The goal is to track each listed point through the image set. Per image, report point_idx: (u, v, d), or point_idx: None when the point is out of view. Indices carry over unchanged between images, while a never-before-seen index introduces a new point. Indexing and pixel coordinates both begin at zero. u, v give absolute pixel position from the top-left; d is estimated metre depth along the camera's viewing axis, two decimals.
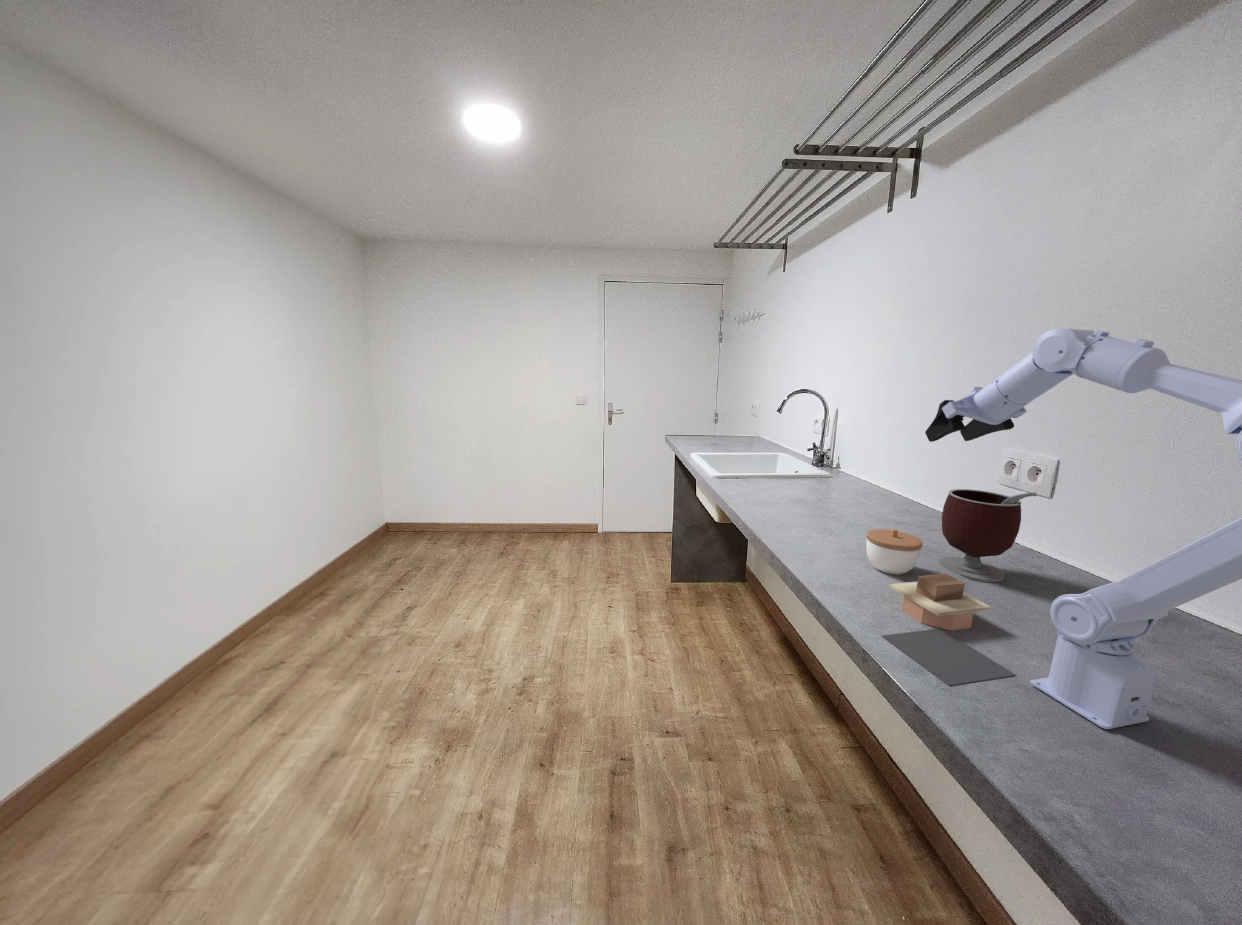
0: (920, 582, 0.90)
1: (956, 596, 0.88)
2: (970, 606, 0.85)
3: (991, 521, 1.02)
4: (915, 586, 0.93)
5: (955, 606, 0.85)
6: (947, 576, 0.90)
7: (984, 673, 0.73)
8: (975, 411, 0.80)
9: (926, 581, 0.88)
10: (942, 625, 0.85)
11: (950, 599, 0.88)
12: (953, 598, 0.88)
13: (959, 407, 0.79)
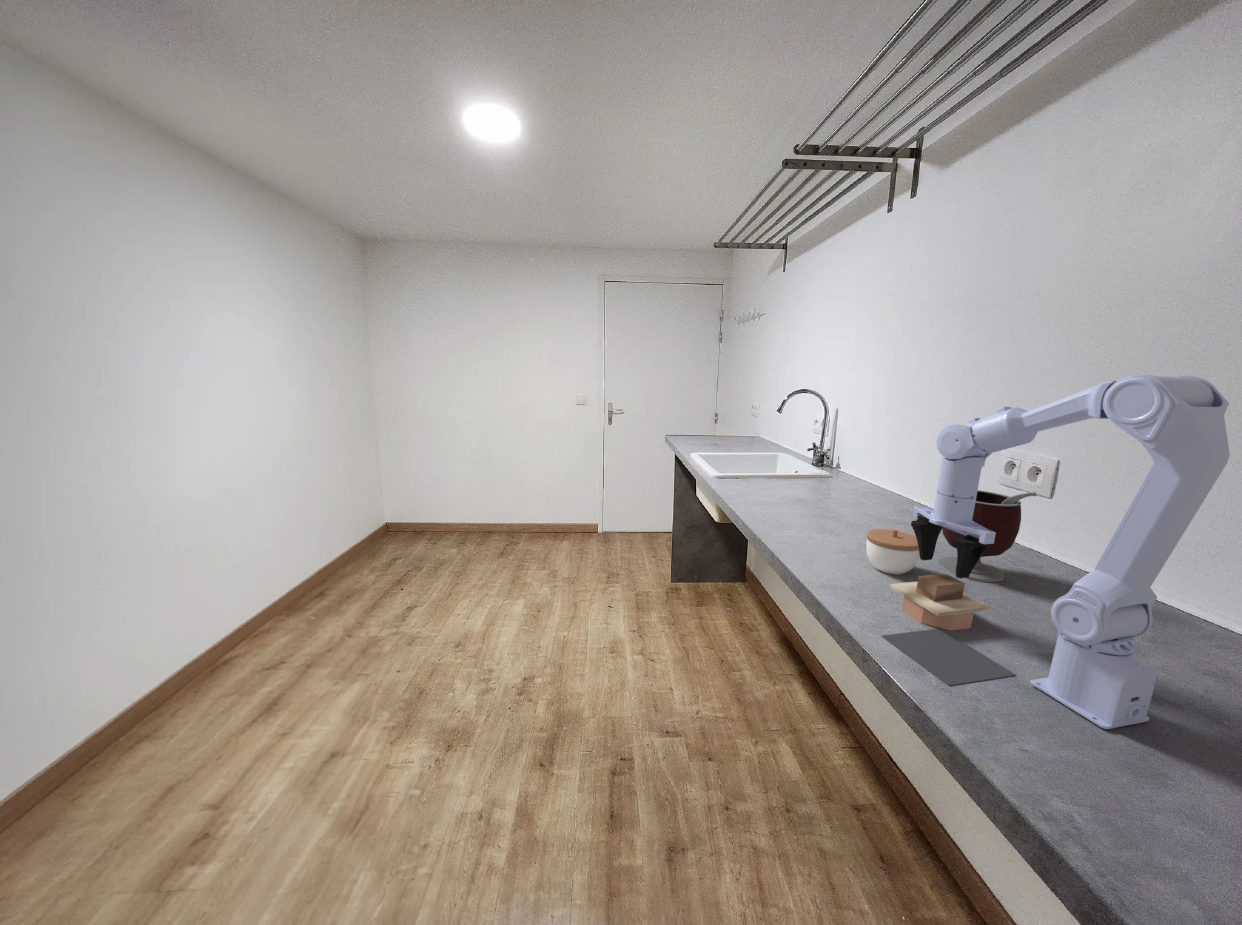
0: (920, 582, 0.90)
1: (956, 596, 0.88)
2: (970, 606, 0.85)
3: (991, 521, 1.02)
4: (915, 586, 0.93)
5: (955, 606, 0.85)
6: (947, 576, 0.90)
7: (984, 673, 0.73)
8: None
9: (926, 581, 0.88)
10: (942, 625, 0.85)
11: (950, 599, 0.88)
12: (953, 598, 0.88)
13: None
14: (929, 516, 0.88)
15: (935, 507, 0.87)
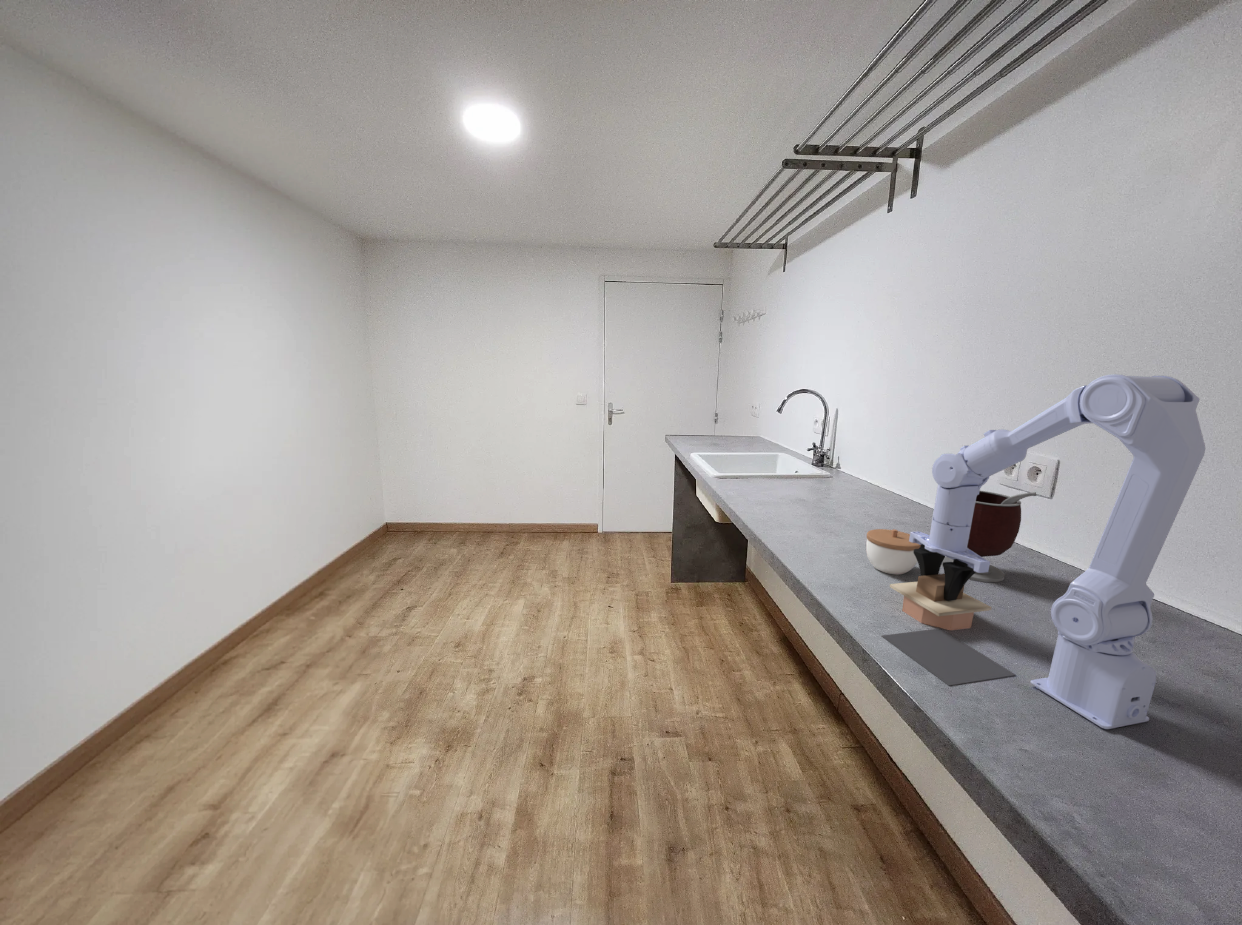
0: (920, 582, 0.90)
1: None
2: (970, 606, 0.85)
3: (991, 521, 1.02)
4: (915, 586, 0.93)
5: (955, 606, 0.85)
6: None
7: (984, 673, 0.73)
8: (965, 553, 0.85)
9: (926, 581, 0.88)
10: (942, 625, 0.85)
11: None
12: None
13: (978, 559, 0.82)
14: (925, 542, 0.89)
15: (931, 534, 0.88)
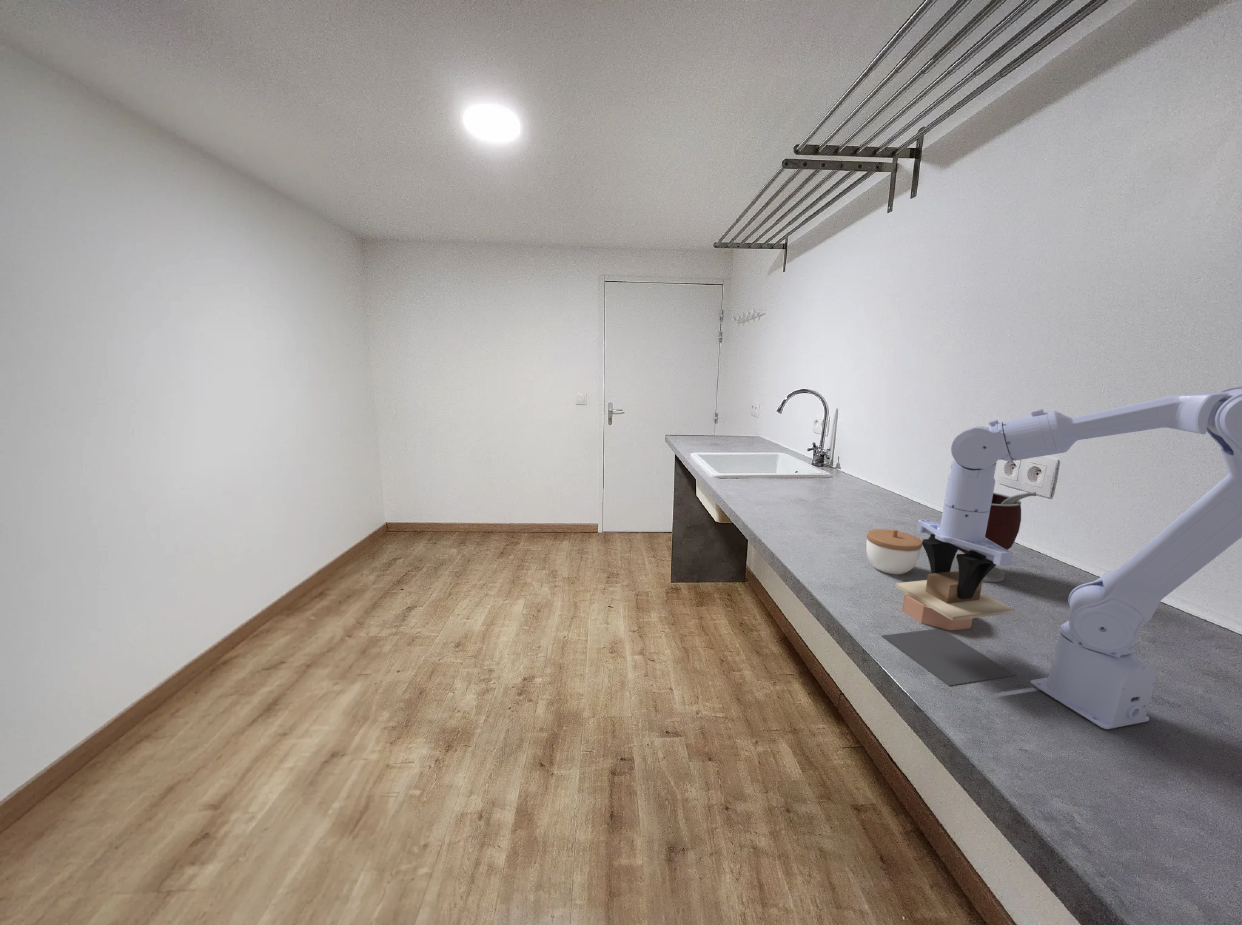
0: (930, 581, 0.77)
1: (972, 597, 0.76)
2: (989, 608, 0.73)
3: (991, 521, 1.02)
4: (924, 585, 0.81)
5: (971, 609, 0.73)
6: None
7: (984, 673, 0.73)
8: (983, 543, 0.73)
9: (937, 580, 0.76)
10: (942, 625, 0.85)
11: (965, 600, 0.75)
12: (969, 599, 0.76)
13: None
14: (935, 531, 0.77)
15: (942, 521, 0.76)
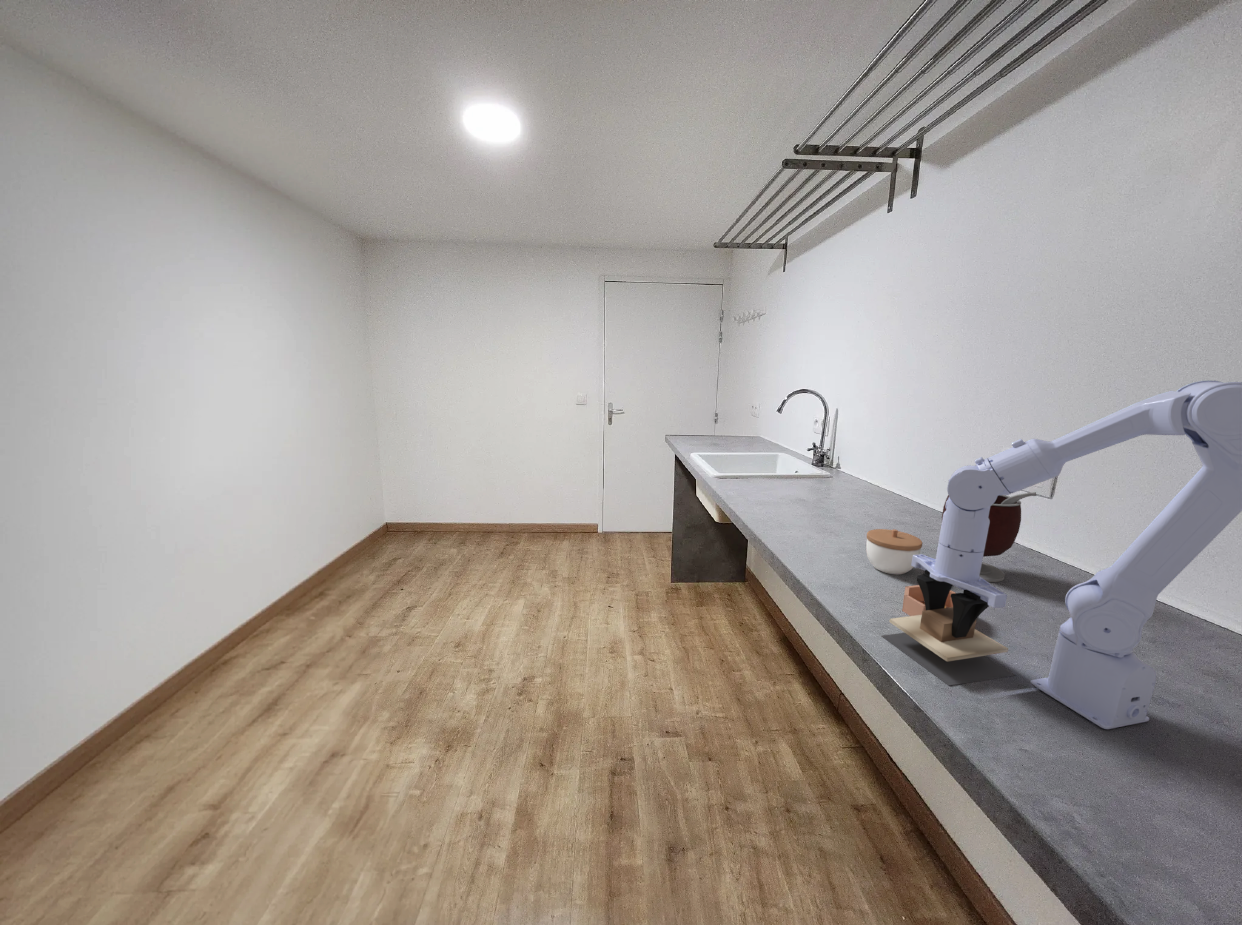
0: (924, 618, 0.77)
1: None
2: (983, 647, 0.73)
3: (991, 521, 1.02)
4: (919, 621, 0.81)
5: (966, 648, 0.73)
6: None
7: (984, 673, 0.73)
8: (977, 582, 0.73)
9: (931, 617, 0.76)
10: None
11: (960, 638, 0.75)
12: (963, 637, 0.76)
13: (993, 591, 0.70)
14: (930, 569, 0.77)
15: (937, 559, 0.75)
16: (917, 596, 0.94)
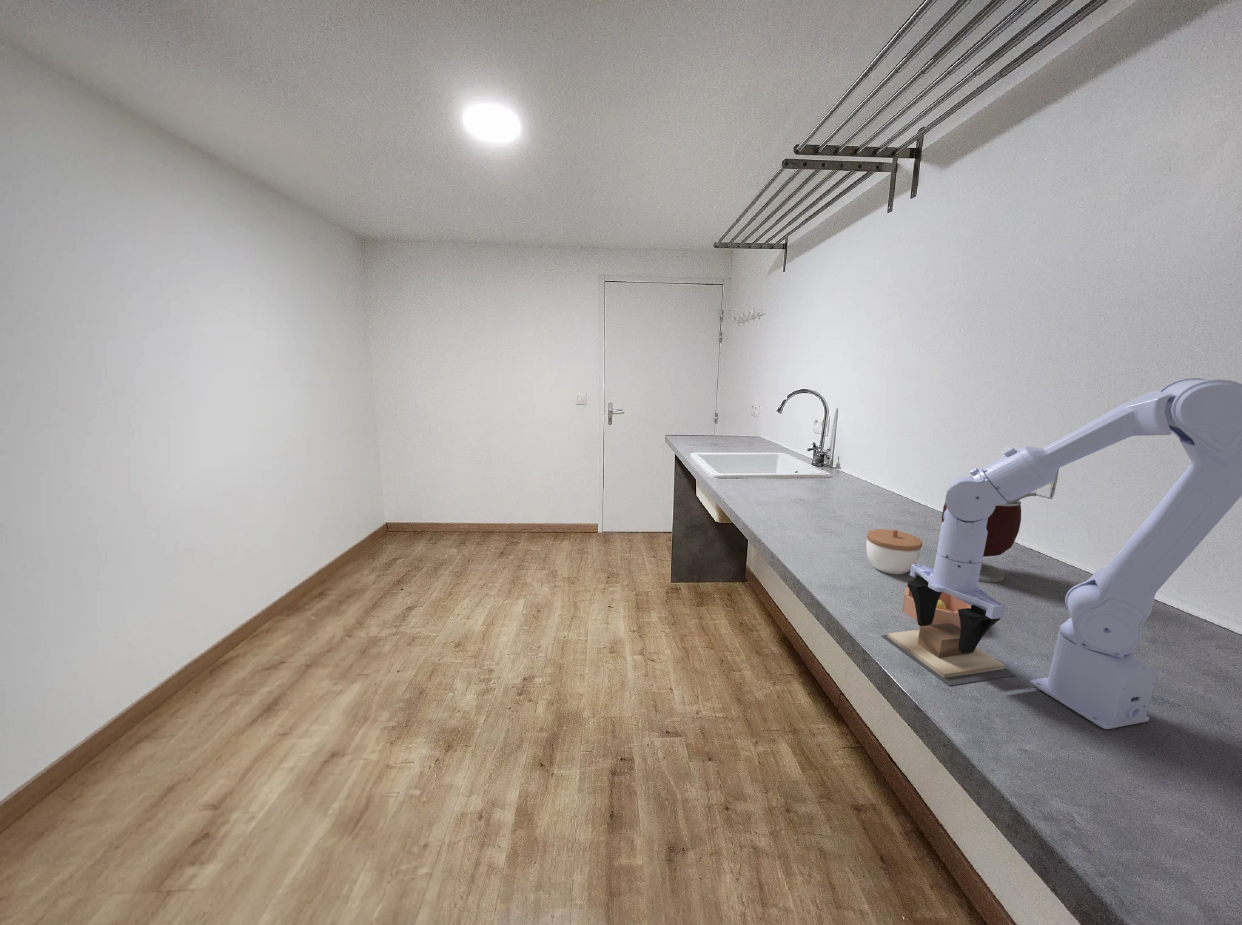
0: (922, 633, 0.78)
1: None
2: (980, 664, 0.74)
3: (991, 521, 1.02)
4: (916, 636, 0.81)
5: (963, 664, 0.74)
6: (953, 626, 0.79)
7: (984, 673, 0.73)
8: (975, 593, 0.73)
9: (929, 633, 0.77)
10: None
11: (957, 654, 0.76)
12: (960, 653, 0.76)
13: (991, 602, 0.70)
14: (928, 579, 0.77)
15: (935, 570, 0.76)
16: None
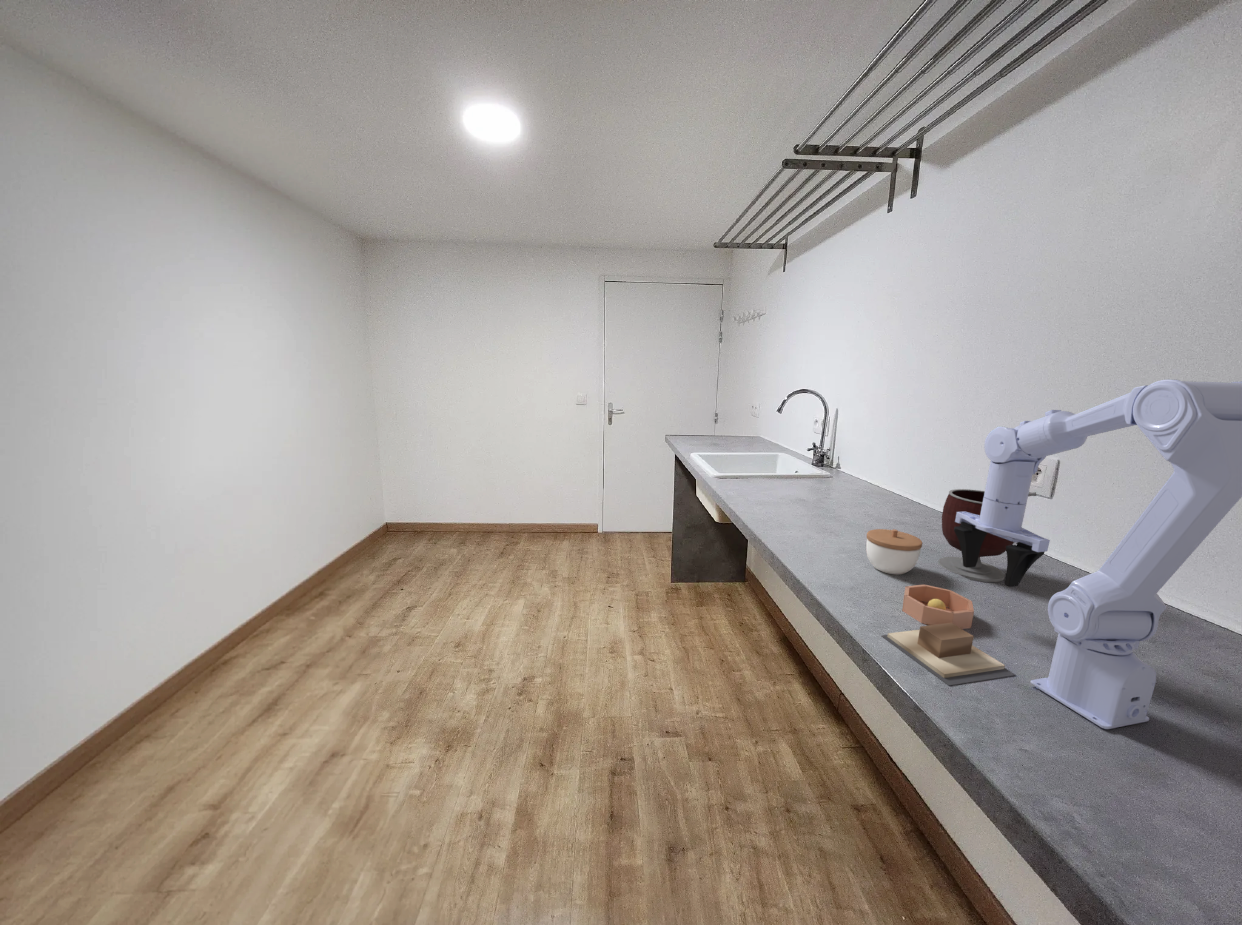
0: (922, 633, 0.78)
1: (964, 651, 0.76)
2: (980, 664, 0.74)
3: None
4: (916, 636, 0.81)
5: (963, 664, 0.74)
6: (953, 626, 0.79)
7: (984, 673, 0.73)
8: (1020, 532, 0.81)
9: (929, 633, 0.77)
10: None
11: (957, 654, 0.76)
12: (960, 653, 0.76)
13: (1037, 538, 0.78)
14: (975, 522, 0.85)
15: (982, 513, 0.84)
16: (917, 596, 0.94)
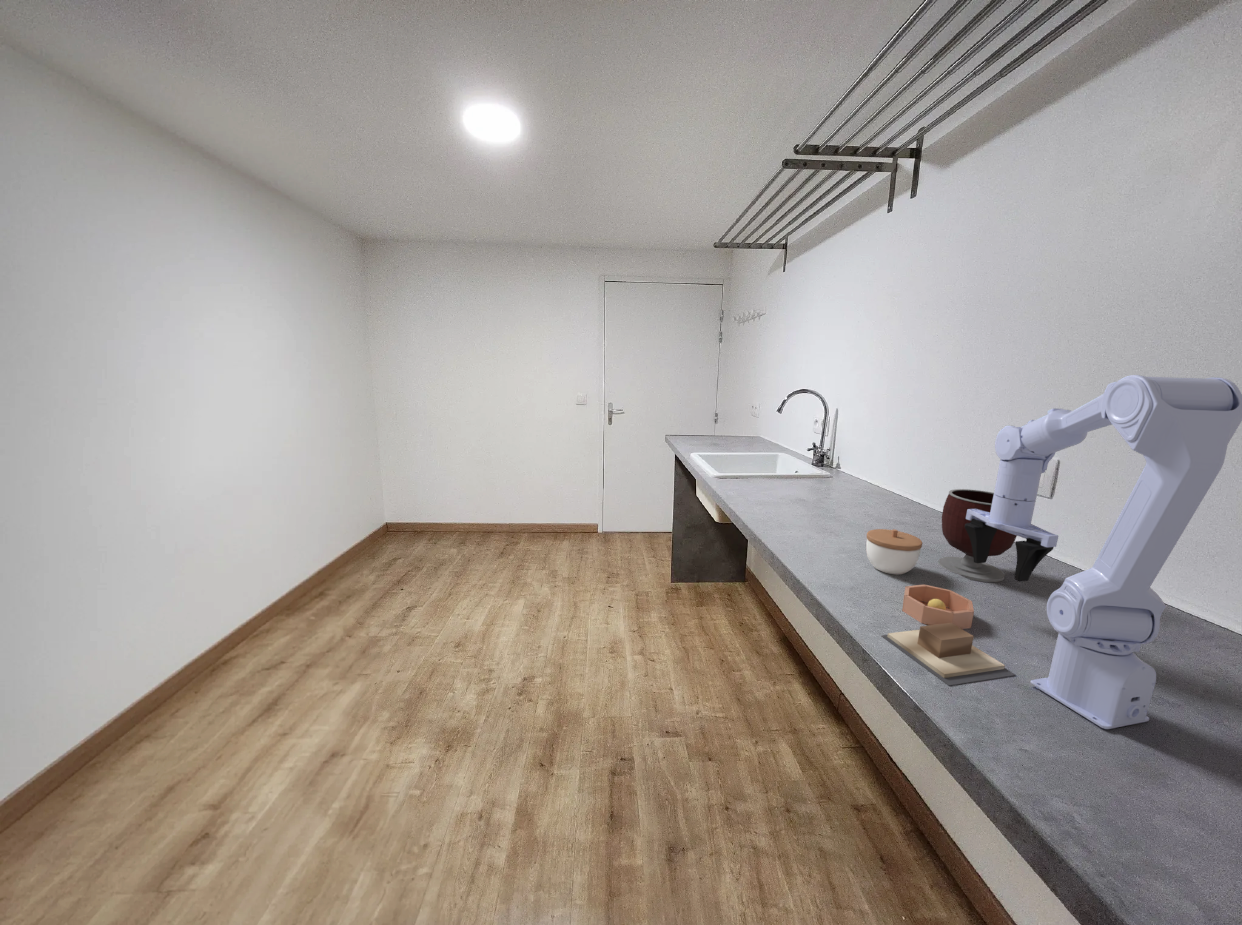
0: (922, 633, 0.78)
1: (964, 651, 0.76)
2: (980, 664, 0.74)
3: None
4: (916, 636, 0.81)
5: (963, 664, 0.74)
6: (953, 626, 0.79)
7: (984, 673, 0.73)
8: (1030, 528, 0.83)
9: (929, 633, 0.77)
10: None
11: (957, 654, 0.76)
12: (960, 653, 0.76)
13: None
14: (985, 519, 0.87)
15: (992, 510, 0.86)
16: (917, 596, 0.94)
